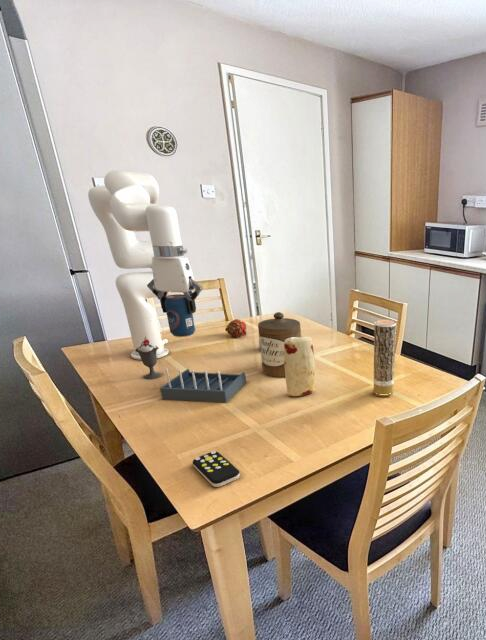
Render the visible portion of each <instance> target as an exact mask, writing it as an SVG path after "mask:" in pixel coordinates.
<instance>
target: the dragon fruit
mask: <svg viewBox="0 0 486 640" xmlns="http://www.w3.org/2000/svg"><path fill="white" fill-rule="evenodd" d="M225 332H227V334H228V335H229V336H231V337H235V338H241V337H242V336H246V335H247V324H246V322H245V321H243V320H242V321H241V319H238V318H235V319H234V320H231V321H229V323H228V324H227V325H226V327H225Z"/></svg>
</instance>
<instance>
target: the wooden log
mask: <svg viewBox="0 0 486 640" xmlns="http://www.w3.org/2000/svg"><path fill="white" fill-rule="evenodd" d="M373 325H374V327H373V329H374V330H373V339H374V340H373V393H374V395H375V396H376V397H381V398H382V397H383V398H385V397H386V398H387V397H390V396H393V394H394V386H395V385H394V384H395V359H396V357H395V355H396V354H395V353H396V326H397V323H396V321H394V320H391V319H376V320H375V321H374V324H373ZM392 392H393V393H392ZM376 393H377V394H376ZM389 393H391V394H389ZM380 394H388V395H380Z"/></svg>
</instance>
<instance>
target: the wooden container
mask: <svg viewBox="0 0 486 640" xmlns="http://www.w3.org/2000/svg"><path fill="white" fill-rule="evenodd" d="M284 315H285V314H284V313H282V312H281V311H277V312H275V313H274V314H273V318H269V319H265V320H261V321H259V322H258V324H257V331H258V337H259V336H260V343H259V344H260V345H259V349H260V348H261V349H260V357H261V365H262V366H261V367H262V371H263V373H264V374H265V375H267V376H269V377H275V378H285V366H284V342H285V340H286V339H288V338H291V337H302V329H301V328H302V327H301V322H300V321H299V320H297V319H294V318H287V317H285V316H284Z"/></svg>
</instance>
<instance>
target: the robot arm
mask: <svg viewBox="0 0 486 640" xmlns="http://www.w3.org/2000/svg"><path fill="white" fill-rule="evenodd" d="M103 183H104V185H97V186H93V187H90V189H89V190H88V193H87V196H88V201H89V204H90V207H91V209H92V211H93V213H94V215H95V217H96V218H97V219H98V221H99V222H100V224H101V225H102V227H103V229H104V233H105V236H106V238H107V243H108V245H109V249H110V252H111V256H112V259H113V261H114V264H115V265H116V266H117V267H118V268H119V269H124V270H129V269H130V270H132V269H133V270H134V269H136V270H137V269H151V271H138V272H137V271H135V272H126V273H122V274H119V275H117V277H116V279H115V286H116V289H117V292H118V294H119V297H120V299H121V302H122V305H123V308H124V311H125V315H126V319H127V324H128V328H129V332H130V337H131V341H132V344H133V349H134V350H133V351H132V352H131V353H130V357H131V359H135V360H139V361H142V360H141V357H140V355H139V353H138V352H136V351H135V350H136V349H137V348H138V347H140V346H141V343H142V342H143V341H144V339H145V336H146V339H148V340H149V341H150V342H152V344H153V345H155V346H157V347H158V348H159V349H157V353H156V355H157V359H160V358H163V357H166V356H167V355H169V353H170V352H169V349H168V348H166V347H165V345H166V344H167V343H169V340H168V339H167V338H163V339H162V335H161V331H160V330H161V329H160V326H159V325H160V324H159V321H158V315H157V311H156V309H155V307H154V306H153V305H152V304H150V303H149V302H148V301H147V299H155V298H157V300H159V302H160V307H161V309H162V313H166V308H165V300H166V296H168V295H172V293H182V295H185V296H186V298H187V299H188V301H186V304H187V309H188V314H192V313H193V314H194V313H196V312H197V311H196V310H197V305H196V299H197V297H198V296H199V295H200V293H201V292H202V291H203V286H201V285H200V284H199V283H198V282H197V281H195V277H194V274H193V270H192V266H191V263H190V261H189V258H188V256H185V254H186V255H187V254H188V249H187V248H184V246H183V243H182V242H183V241H182V236H181V231H180V226H179V220H178V219H179V218H178V214H177V211H176V209H175V208H174V207H173V206H169V205H166V204H163V203H158V200H159V198H160V187H159V184H158V182H157V180H156V179H155V177H154V176H153V175H152V174H150V173H147V172H143V171H142V172H141V171H133V170H132V171H131V170H119V169H117V170H111V171H108V172H107V173H106V174H105V175H104V178H103ZM135 232H148V233H149V238H150V240H138V239H137V238H136V233H135ZM193 290H194V291H193ZM166 314H167V313H166ZM146 339H145V340H146Z"/></svg>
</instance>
